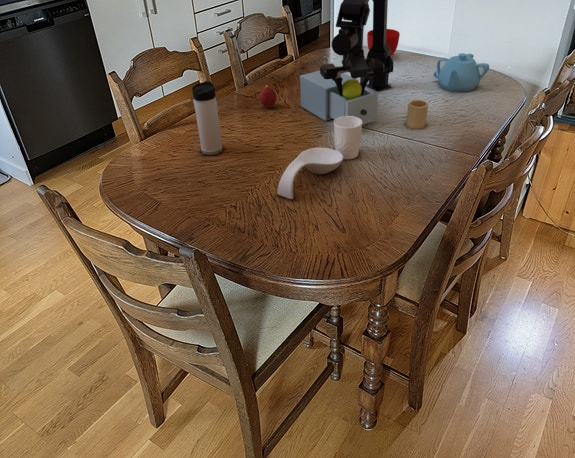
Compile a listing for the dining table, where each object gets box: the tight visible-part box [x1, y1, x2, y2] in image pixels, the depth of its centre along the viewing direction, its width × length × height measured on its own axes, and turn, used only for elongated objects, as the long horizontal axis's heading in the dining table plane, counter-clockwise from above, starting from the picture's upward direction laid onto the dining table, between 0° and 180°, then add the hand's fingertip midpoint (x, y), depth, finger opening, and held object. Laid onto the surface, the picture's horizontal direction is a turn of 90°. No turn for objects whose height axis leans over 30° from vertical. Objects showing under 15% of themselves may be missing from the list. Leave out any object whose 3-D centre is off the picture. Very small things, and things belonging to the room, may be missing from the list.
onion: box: [258, 84, 278, 109], centre depth 169 cm, size 6×6×8 cm
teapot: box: [433, 52, 490, 93], centre depth 178 cm, size 15×17×11 cm
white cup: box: [333, 116, 363, 160], centre depth 140 cm, size 8×8×10 cm
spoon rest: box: [276, 147, 344, 200], centre depth 131 cm, size 24×12×7 cm, turn 146°
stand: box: [405, 99, 429, 130], centre depth 155 cm, size 6×6×7 cm
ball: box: [342, 79, 362, 100], centre depth 154 cm, size 6×6×6 cm
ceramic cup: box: [366, 28, 401, 57], centre depth 203 cm, size 13×17×10 cm
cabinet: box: [299, 70, 359, 122], centre depth 166 cm, size 15×13×11 cm
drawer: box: [328, 89, 379, 126], centre depth 157 cm, size 15×12×9 cm
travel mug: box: [191, 80, 224, 156], centre depth 142 cm, size 6×7×20 cm
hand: (351, 95), depth 155 cm, fingers closed on ball, 6 cm apart
